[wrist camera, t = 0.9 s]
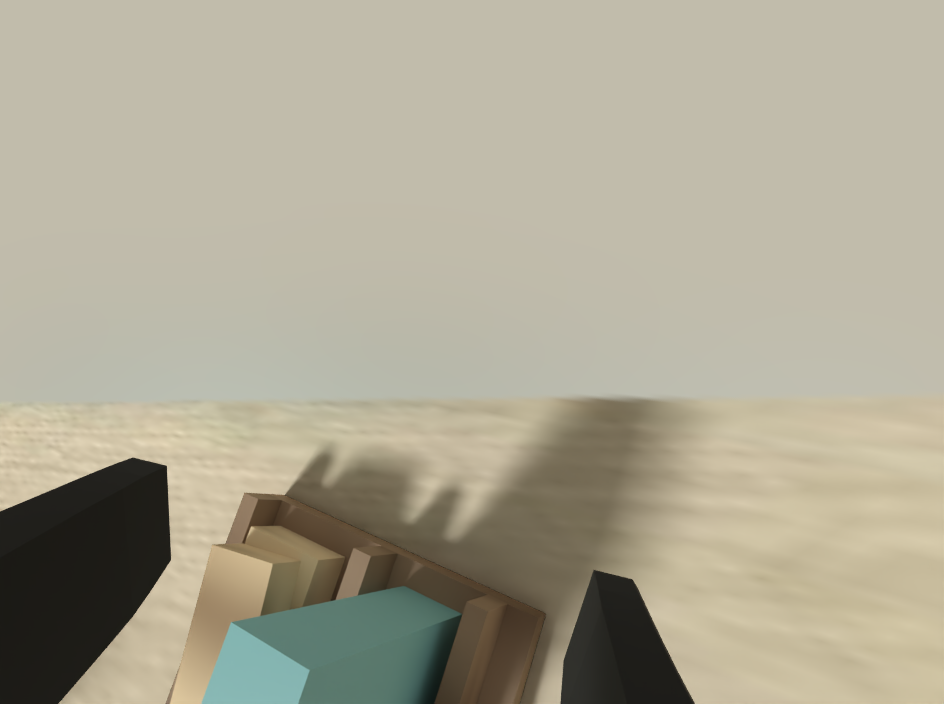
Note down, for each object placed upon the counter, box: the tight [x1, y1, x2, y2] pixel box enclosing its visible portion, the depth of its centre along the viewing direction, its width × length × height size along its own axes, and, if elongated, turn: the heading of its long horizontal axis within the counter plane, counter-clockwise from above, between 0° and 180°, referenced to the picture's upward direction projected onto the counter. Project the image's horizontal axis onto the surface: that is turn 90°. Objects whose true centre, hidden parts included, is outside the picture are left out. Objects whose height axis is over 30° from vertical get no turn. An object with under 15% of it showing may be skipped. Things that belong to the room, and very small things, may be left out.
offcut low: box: [245, 526, 345, 610], centre depth 23 cm, size 7×4×2 cm, turn 160°
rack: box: [166, 493, 546, 704], centre depth 22 cm, size 9×13×3 cm
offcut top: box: [170, 543, 301, 704], centre depth 22 cm, size 6×3×2 cm, turn 168°
